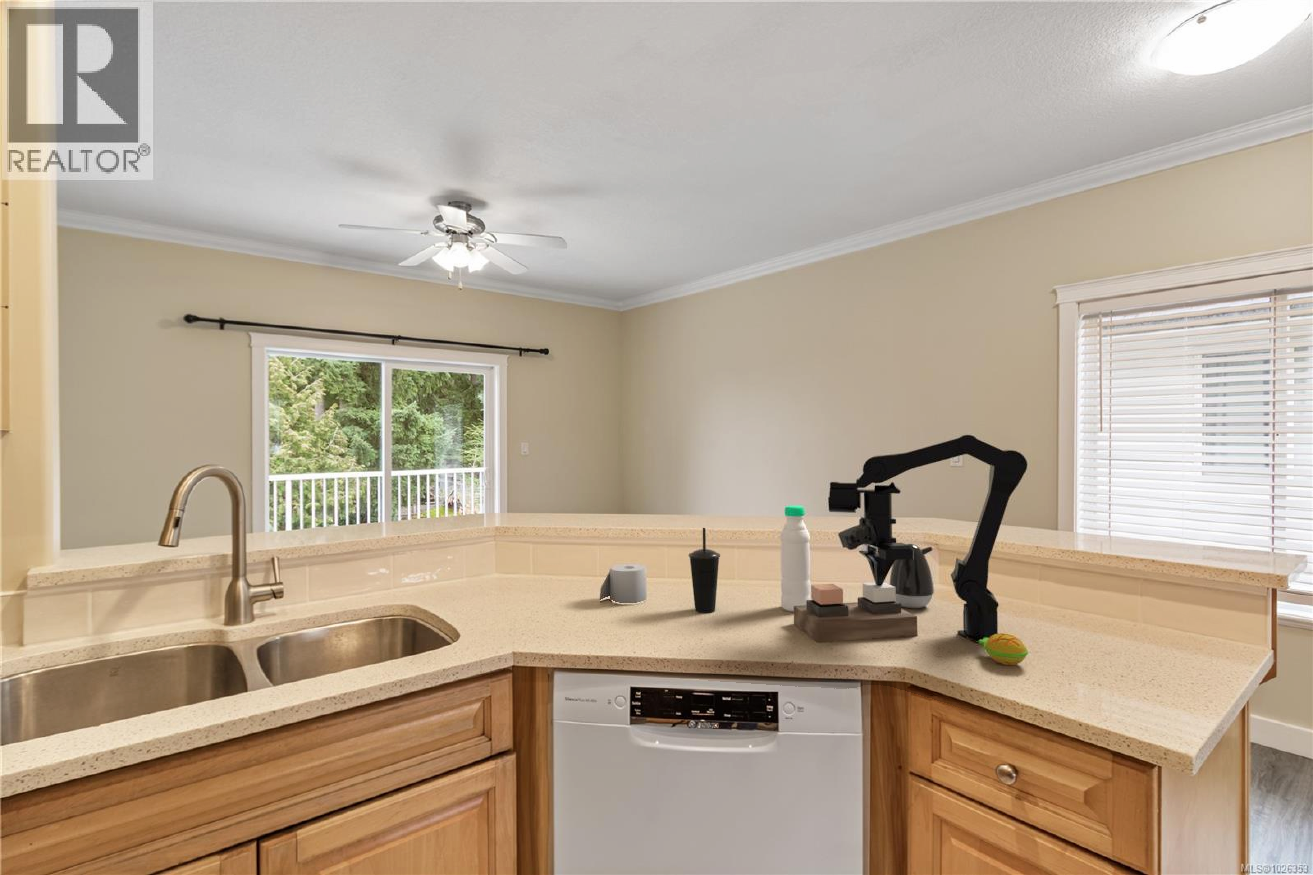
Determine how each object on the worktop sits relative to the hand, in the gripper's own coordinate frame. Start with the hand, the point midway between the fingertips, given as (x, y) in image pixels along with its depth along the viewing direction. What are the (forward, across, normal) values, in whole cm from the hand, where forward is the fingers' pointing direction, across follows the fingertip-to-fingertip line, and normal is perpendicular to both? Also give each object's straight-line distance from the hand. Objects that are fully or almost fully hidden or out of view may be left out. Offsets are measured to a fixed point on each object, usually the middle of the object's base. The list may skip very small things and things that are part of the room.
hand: (878, 585), depth 136 cm
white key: (+3, 0, 0) cm, 3 cm away
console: (+9, 0, -6) cm, 11 cm away
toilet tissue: (+10, -34, -53) cm, 63 cm away
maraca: (+10, +23, +12) cm, 28 cm away
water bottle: (+10, -18, -12) cm, 24 cm away
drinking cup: (+10, -21, -34) cm, 41 cm away
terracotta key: (+3, 0, -12) cm, 12 cm away
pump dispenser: (+10, -15, +17) cm, 24 cm away
